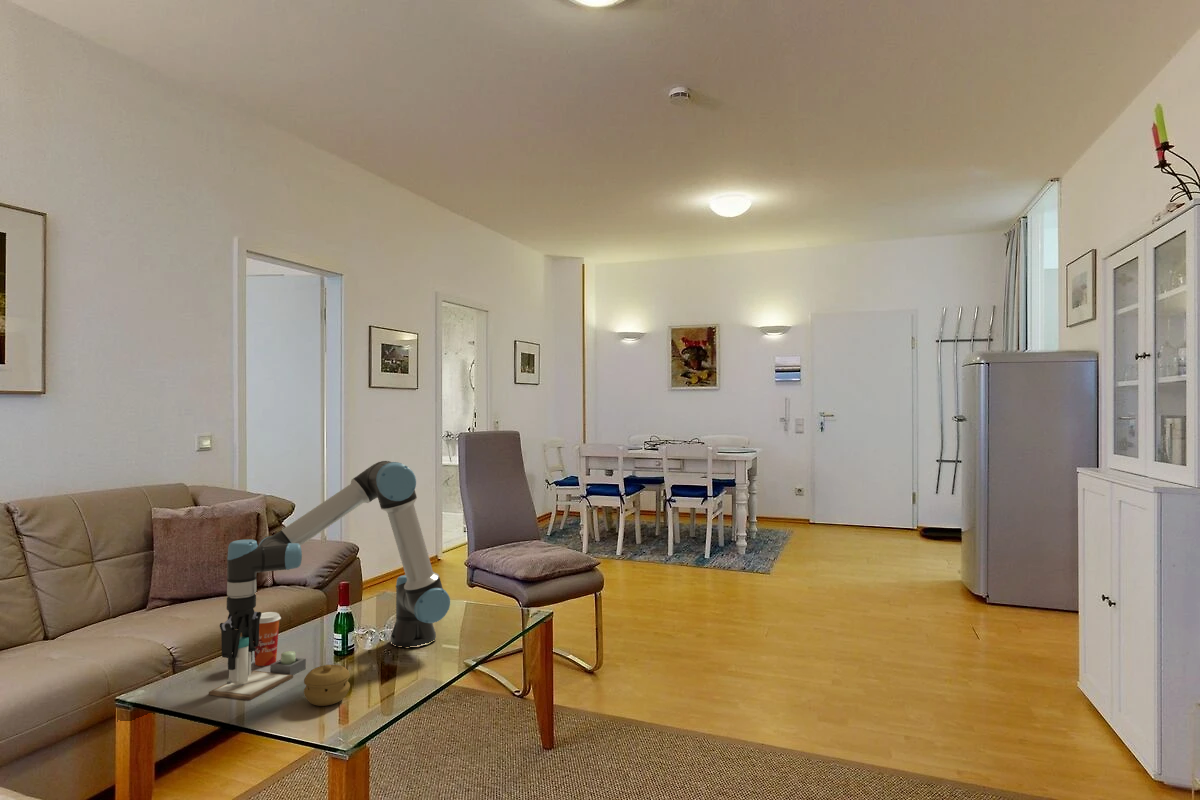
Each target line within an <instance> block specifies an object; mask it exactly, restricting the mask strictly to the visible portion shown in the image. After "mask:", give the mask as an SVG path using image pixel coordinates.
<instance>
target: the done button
mask: <svg viewBox="0 0 1200 800" xmlns="http://www.w3.org/2000/svg"><path fill="white" fill-rule="evenodd" d="M280 658H281V659H280V660H281V664H285V665H290V664H293V663H295V660H296V658H297V657H296V651H294V650H289V651H283V652H282V653H281V654H280Z"/></svg>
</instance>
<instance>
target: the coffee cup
mask: <svg viewBox="0 0 1200 800" xmlns="http://www.w3.org/2000/svg"><path fill="white" fill-rule="evenodd" d="M280 620H282V617H281V615H280V613H279V612H276V611H267V612H261V617H260V623H259V644H258V646H257V647H255V648H256V650H255V651H253V653H254V654H253V655H254V664H255V666H257V667H267V666H270V664H272V663H274V662H277V656H278V641H279V627H280Z"/></svg>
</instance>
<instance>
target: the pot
mask: <svg viewBox="0 0 1200 800" xmlns="http://www.w3.org/2000/svg"><path fill="white" fill-rule="evenodd" d="M350 678H351V673H350V671H349V670H348V669H347V668H346V667H344V666H342V665H340V664H324V665H320V666H317V667H315V668H313V669H312V670H310V671H309V672H308V673H307V674H306V675H305V677H304V679H303V680H304V681H303V683H304V685H305V687H304V689H303V696H304V697H305V699H306V700H307V701H308V702H309V703H310V704H312V705H313V706H320V707H325V706H330V705H334V704H335V705H336V704H338V703H339V702H341V701H342V700H344V698H345V697H346V696H347V694H348V693H349V691H350V688H351V683H350V682H349V679H350Z"/></svg>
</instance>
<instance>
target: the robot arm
mask: <svg viewBox="0 0 1200 800" xmlns="http://www.w3.org/2000/svg"><path fill="white" fill-rule="evenodd" d="M416 487H417V478H416V475H415V473H414V471H413V470H412V469H411V468H410V467H409V466H407V465H406V464H404V463H402V462H398V461H389V460H382V461H378V462H376V463H374V464H372V465H370V466H369V467H368V468H366V469H364V471H363V470H362V472H361V473H359V474H358V475H357V476H355V477H353V478H352V479H351V481H350V483H349V484H348V485H347V486H346V487H344V488H342V489H340V490H339V491H338V492H337V493H335V494H333V495H332V496H330V497H329V498H327V499H326V500H324V501H323V502H322V503H320V504H318V505H317V506H316V507H313V508H312V509H311V510H310V511H308V512H306V513H305V514H303V515H302V516H300V517H299V518H297V519H296V520H295V521H293V522H291V523H290V524H289V525H287V526H286V527H284V528H283V529H281V530H280V531H278V532H276V533H275V534H273V535H271V536H266V537H264V538H263V539H262V540H261V541H260V542H259V543H258V542H257V540H255V539H251V538H250V539H239V540H238V539H237V540H233V541H231V542H229V544H228V545H227V546H228V548H227V557H226V559H227V560H226V561H227V562H226V564H227V566H226V571H227V572H226V575H227V576H226V579H227V581H226V582H227V583H226V585H227V586H226V596H227V598H226V610H227V611H228V616H227V620H226V621H225V622H221V623H219V628H220V631H221V633H220V635H221V637H220V638H221V640H220V641H221V657H222V658H227V669H228V681H229V680H231V681H238V680H239V657H237V652H238V646H239V640H240V637H249V645H248V675H251V672H252V662H253V652H254V651H255V650H256V648H255V647H257V646H258V644H259V623H260V617H261V613H262V612H261V611H255V608H256V606H257V594H256V593H257V573H267V572H275V571H277V572H278V571H290V570H293V569H298V568H300V567H301V564H302V557H303V556H302V555H303V554H302V553H303V551H302V545H305V543H307V542H308V541H310V540H311V539H313V538H315V537H316V536H317V535H319V534H320V533H321V532H323V531H324V530H326V529H327V528H329V527H330V526H332V525H333V524H335V523H336V522H338V521H339V520H340V519H342V518H344V517H345V516H347V515H348V514H349V513H351V512H352V511H354V510H356V509H357V508H358V507H360V506H361V505H362V504H370V503H371V502H372V501H373V500H374V501H375V500H376V499H378V503H379V507H380V509H381V510H383V511H385V512H386V513H387V516H388V519H389V524H390V526H391V530H392V533H393V538H394V541H395V543H396V546H397V551H398V554H399V557H400V560H401V564H402V567H403V571H404V575H400V576H398V577H397V579H396V585H395V611H396V612H395V622H394V624H393V628H392V631H391V634H390V643H391V642H392V644H394V645H396V646H402V647H410V646H417V645H421V644H425V643H429V642H431V641H433V640H435V638H436V639H437V633H436V631H435V630H436V629H435V627H434V623H437V622H439V621H441V620H442V619H443V618H444V617H445V616H446V615H447V613H448V611H449V610H450V606H451V598H450V596H449V593H448V592H447V591H446V589H444V588H443V585H442V582H441V577H440V574H439V573H437V572H434V570H433V566H432V563H431V559H430V556H429V553H428V550H427V546H426V542H425V539H424V535H423V532H422V528H421V526H420V525H421V524H420V522H419V517H418V515H417V510H416V506H415V503H416V500H417V498H418V497H417V493H416V490H415V489H416ZM435 641H436V640H435Z"/></svg>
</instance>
